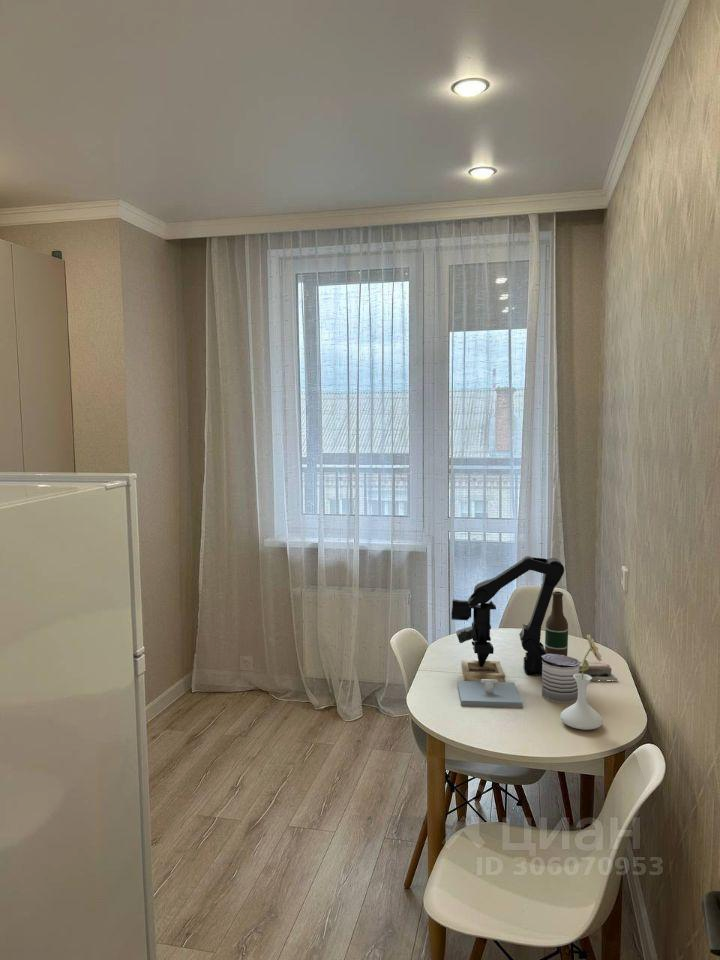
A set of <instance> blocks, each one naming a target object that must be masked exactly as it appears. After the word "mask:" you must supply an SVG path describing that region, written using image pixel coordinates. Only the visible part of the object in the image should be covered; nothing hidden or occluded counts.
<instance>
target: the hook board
mask: <svg viewBox="0 0 720 960" xmlns="http://www.w3.org/2000/svg"><path fill="white" fill-rule="evenodd" d="M457 685H458V686H457ZM457 685H456V686H457V691H458V697H459V701H460V706H465V707H466V706H469V707H494V706H499V708H500V707H501V708H523V700H522V699H521V696H520V695H521V694H520V692H519V691H518V688H517V686H516V683H515V682H509V681H505V682H498V680H496V679H481V681H464V680H457Z"/></svg>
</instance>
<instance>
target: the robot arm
mask: <svg viewBox="0 0 720 960" xmlns="http://www.w3.org/2000/svg"><path fill="white" fill-rule="evenodd" d="M562 563H563V562H561V560H560V559H559V558H556V557H550V558H542V557H535V556H534V557H532V556H529V555H528V556H527V555H526V556H524V557H523V558H522V559H521V560H519V561H518V562H516V563H515V564H513V565H511V566H510V567H509V568H507V569H506V570H504V571H503V572H500V573H499V574H498V575H496V576H494V577H492V578H489V579H486V580H483V581H482V582H479V583H477V584H476V585H475V586H474V588H473V593H472V594H471V595H470V596H469V597H468V599H467V600H462V599H461V600H459V599H452V601H451V603H452V606H451V620H452V621H469V620H470V618H473V621H472V622H471V626H468V627H464V628H461V629H457V630H456V631H455V634H456V636H457V639H458V640H457V641H458V642H459V644H463V643H464V642H467V641H470V640H472V641H471V645H472V646H473V647H472V649H473V652H474V654H477V659H478V660H477V661H479V666H480V667H483V666H484V664H485V661H487V660H488V657H489V655H493V654H494V651H495V649H494V645H493V644H492V642H491V641H492V638H491V630H492V625H491V611H492V610H494V611H495V610H497V605H496V604H495V603H494V602H493V601H492V598H494V597H495V595H497V594H498V592H499V591H500V590H502V588H504V587H505V586H508V584H510V583H512V582H513V581H515V580H516V579H518V578H520V577H522V575H524V574H526V573H527V572H529V571H533V572H536V573H540V574H542V584H541V587H540V590H539V593H538V595H537V599H536V602H535V605H534V607H533V611H532V614H531V617H530V620H529V622H528V623H527V624H524V623H523V624H522V627H521V632H520V633H519V638H520V642H521V647H522V649H523V650H524V651H525V654H524V656H523V666H522V667H523V670H524V672H525V674H526V675H528V676H542V665H543V658H542V657H541V656H542V655H545V654H546V652H545V645H544V644H543V643H542V642H541V636H542V626H543V624H544V623H543V622H544V620H545V617H546V614H547V611H548V608H549V605H550V602H551V598H552V597H553V595H552V594H553V592H554V590H555V588H556V587H557V585H558V584H559V583H560V581H561V579H562V577H563V575H564V573H565V568H564V565H563V564H562ZM472 609H473V612H472ZM472 613H473V614H472ZM472 616H473V617H472Z"/></svg>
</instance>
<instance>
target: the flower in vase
mask: <svg viewBox="0 0 720 960" xmlns="http://www.w3.org/2000/svg"><path fill="white" fill-rule="evenodd" d="M586 639H587V642H588V645H589V649H588V650H587V652H586V654H585V655H584V658H583V661H582V662H583V668H582V669H580V670H578V671H582V674H574V675H573V677H574V678H575V680H576V682H577V687H578V699H577V700H576V701H575V702H574V703H573V704H572V705H569V706H568V707H566V708H564V710H563V711H561V713H560V715H559V717H560V720H561V721H562V722H563V724H565V725H566V726H569V727H570V728H574V729H576V730H577V729H578V730H583V731H585V730H586V731H589V730H596V729H599V728H600V727H601V726H602V725H603V724H604V720H603V718H602V716H601V715H600V714H599V713H598V712H597V710H595V709H594V708H593V707H592V706H591V705H589V704H588V701H587V700H588V699H587V690H588V686H589V683H590V682H591V681H590V680H591V679H592V677H591V676H589V675H587V674H583V671H585V670H587V669H588V668H589V665H588V662H589V661H588V660H586V659H587V658H588V657H587V656H588V655H589V654H590V652H591V653H592V654H593V656H594V657H595V658H596V660H597V661H598V662H601V661H602V662H603V660H602V655H601V654H600V652H599V647H598V646H597V645H596V643H595V640H594V639H593V638H592V636H591V634H587V635H586ZM584 665H585V667H586V668H587V669H586V668H584Z"/></svg>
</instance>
